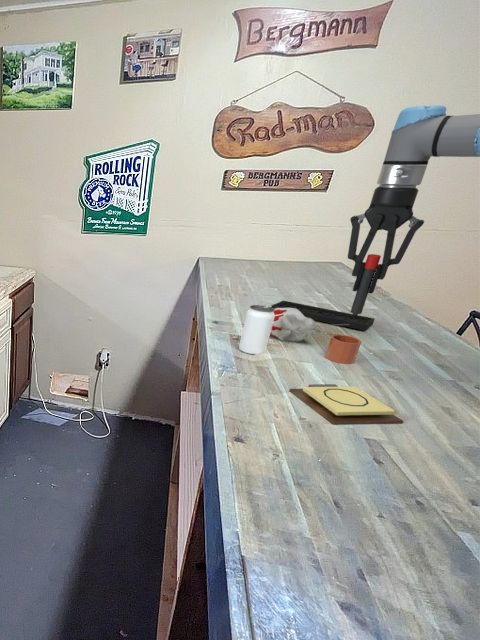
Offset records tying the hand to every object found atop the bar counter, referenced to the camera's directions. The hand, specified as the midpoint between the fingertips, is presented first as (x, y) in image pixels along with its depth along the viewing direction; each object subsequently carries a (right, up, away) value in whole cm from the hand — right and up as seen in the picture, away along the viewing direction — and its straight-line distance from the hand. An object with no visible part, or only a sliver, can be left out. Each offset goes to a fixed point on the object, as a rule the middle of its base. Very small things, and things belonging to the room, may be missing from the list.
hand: (363, 290), depth 109 cm
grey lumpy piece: (-7, -10, +23) cm, 26 cm away
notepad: (-15, -25, -15) cm, 33 cm away
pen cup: (0, -17, +8) cm, 18 cm away
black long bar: (+15, -4, +37) cm, 40 cm away
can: (-19, -14, +13) cm, 28 cm away
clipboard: (-15, -26, -14) cm, 33 cm away
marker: (0, -5, +2) cm, 6 cm away
